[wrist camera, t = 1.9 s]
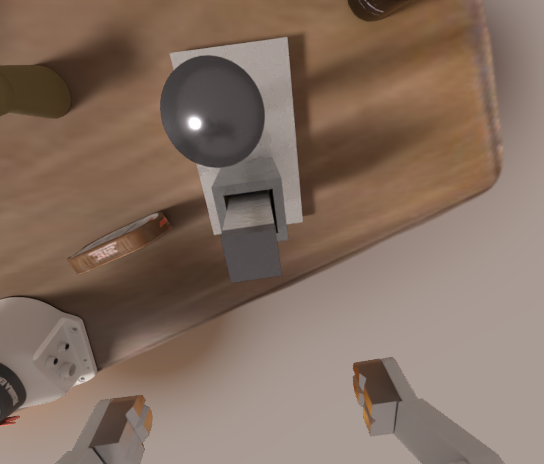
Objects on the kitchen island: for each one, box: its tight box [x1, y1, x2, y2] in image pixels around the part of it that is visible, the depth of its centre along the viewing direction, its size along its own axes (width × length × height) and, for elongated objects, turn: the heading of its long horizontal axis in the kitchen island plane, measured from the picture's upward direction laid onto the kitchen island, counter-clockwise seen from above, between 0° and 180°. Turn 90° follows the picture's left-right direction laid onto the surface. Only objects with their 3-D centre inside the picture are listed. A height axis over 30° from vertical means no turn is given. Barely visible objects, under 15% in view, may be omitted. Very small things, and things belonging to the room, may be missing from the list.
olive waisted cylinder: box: [0, 65, 71, 118], centre depth 29 cm, size 6×6×11 cm
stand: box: [160, 37, 303, 241], centre depth 26 cm, size 24×14×29 cm, turn 7°
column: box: [221, 189, 282, 283], centre depth 29 cm, size 4×4×20 cm
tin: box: [67, 212, 171, 275], centre depth 39 cm, size 15×3×8 cm, turn 113°
